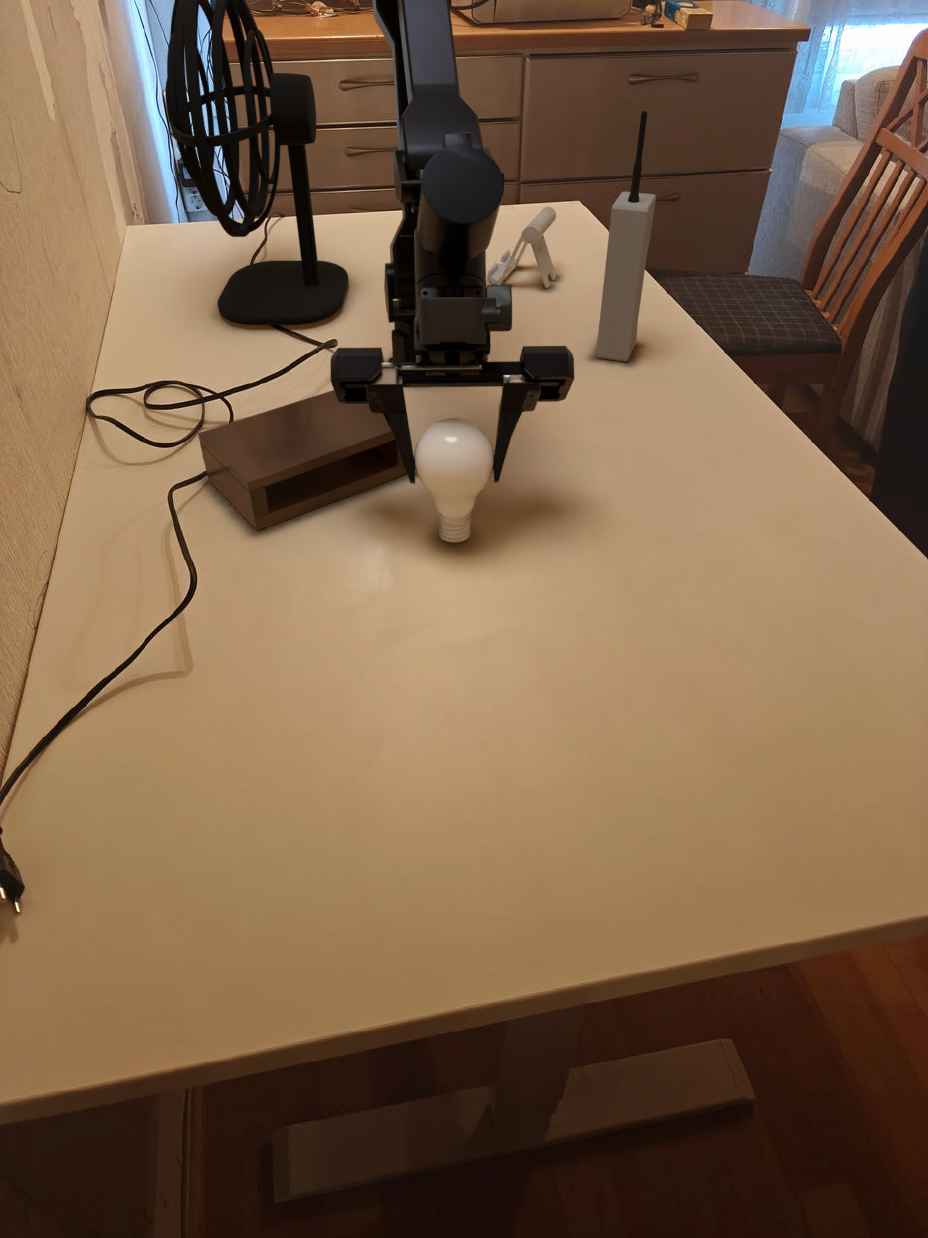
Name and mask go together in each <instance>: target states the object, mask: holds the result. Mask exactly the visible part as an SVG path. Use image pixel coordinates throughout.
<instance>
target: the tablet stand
mask: <svg viewBox="0 0 928 1238" xmlns="http://www.w3.org/2000/svg"><path fill="white" fill-rule="evenodd" d="M556 219H557V212H556V210H555V209H554V208H553V207H552V206H545V207H544V208H543V209H542V210H540V212H539V213H538V214H537V215H535V217H534V218H533V219H532V220H531V221H530V222H529V224H527V226H526V227H525V228H524V229H522V231H521V233H520V237H519V239H518V241H517V243H516V244H515V247H514V249H513V251H512V253H511V250H510V249H507V250H506V251H505V252H504V253H503V254H502V255H501V256H500V261H499V263H498V262H495V263H494V264H493V265H492V266H491V267H490V268H489V269H488V270H487V275H486V283H487V284H488V285H503V283H504V281H505V280H506V278H507V277H508V276H509V275H510V274H511V273H512V272H513V270H515V269H516V268H517V267H518V265H519V263H520V261H521V259H522V257H523V255H524V253H525V251H526V249H527V247H528V244H529V245H530V246H531V249H532V252H533V255H534V258H535V261H536V264H537V268H538V271H539V273H540V277H541V279H542V283H543V285H544V288H545V289H548V288H549V287H550V286H551V283H550V280H549V275H550V278H551V281H555V280H556V278H557V274H556V271H555V267H554V264H553V262H552V259H551V255H550V252H549V249H548V246H547V243H546V242H547V241H546V239H545V236H544V234H545V232H546V231H547V230H548V229H549V228H550V227H551V226H552V224H553V223H554V222H556ZM523 242H524V243H523ZM522 243H523V245H522ZM521 246H522V247H521ZM520 248H521V249H520ZM519 249H520V251H519ZM518 251H519V252H518ZM517 254H518V255H517ZM516 256H517V257H516Z"/></svg>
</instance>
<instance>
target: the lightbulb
mask: <svg viewBox="0 0 928 1238" xmlns="http://www.w3.org/2000/svg"><path fill="white" fill-rule="evenodd" d="M494 451H495V450H494V447H493V444H492V442H491V440H490V437H489V436H488V434H486V432H485V431H484V430H483V429H482V428H481V427H480V426H479V425H478V424H476V423H474V422H472V421H471V420H467V419H464V418H458V417H449V418H445V419H441V420H438V421H435V422H434V423H433V424H431V425H429V426H428V427H427V428H426V429H425V430H424V431H423V433H422V434H421V435H420V437H419V438H418V440H417V442H416V445H415V449H414V452H413V455H414V463H415V474H416V475H417V478H418V480H419V482H420V483H421V484H422V486H423V487H424V488H425V489H426V491H427V492H428V493H429V494H430V495H431V497H432V500H433V503H434V507H435V510H436V511H437V516H438V535H439V537H440V539H442V540H443V541H444V542H447V543H461V542H465V541H466V540H467V539H469V538H470V536H471V517H472V515H471V514H472V510H473V509H474V506H475V502H476V499H477V496H478V494H480V492H481V491H482V490H483V489H484V488H485V486H486V485H487V484H488V481H489V480H490V479H491V476H492V475H493V467H494Z"/></svg>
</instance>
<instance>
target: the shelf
mask: <svg viewBox="0 0 928 1238" xmlns="http://www.w3.org/2000/svg"><path fill="white" fill-rule="evenodd" d="M197 437H198V440H199V446H200V449H201V454H202V455H201V456H202V459H203V463H204V468H205V472H206V476H207V480H208V482H209V483H210V484H211V485H212V486H213V487H214V488H215V489H216V490H217V491H218V492H219V493H220V494H221V496H222V497H224V498H225V499H226V500H227V502H229V504H230V505H231V506H232V507H233V508H234V509H235V510H236V511H237V512H238V513H239V514H240V515H241V516H242V517H243V518H244V519H245V520H246V521H247V522H248V523H249V524H250V525H251V526H252V527H253V529H255V531H256V532H259V531H261V530H264V529H266V528H267V529H268V528H269V527H271V526H275V525H277V524H280V523H283V522H285V521H288V520H290V519H292V518H295V517H299V516H301V515H303V514H305V513H308V512H311V511H314V510H316V509H318V508H321V507H324V506H326V505H329V504H332V503H335V502H337V501H340V500H342V499H345V498H347V497H349V496H352V495H356V494H358V493H360V492H363V491H365V490H368V489H371V488H373V487H376V486H378V485H382V484H383V483H387V482H389V481H391V480H394V479H396V478H399V477H402V476H405V475H407V472H406V469H405V466H404V463H403V460H402V456H401V453H400V450H399V447H398V444H397V442H396V439H395V437H394V435H393V433H392V431H391V429H390V427H389V425H388V423H387V421H386V419H385V417H384V415H383V414H382V413H373V412H371V411H370V408H369V404H345V403H341V402H339V401H338V399H337V396H336V394H335V391H334V389H331V390H329V391H326V392H323V393H320V394H316V395H314V396H310V397H307V398H304V399H301V400H298V401H295V402H291V403H288V404H285V405H282V406H279V407H276V408H272V409H270V410H266V411H263V412H260V413H257V414H254V415H250V416H248V417H245V418H242V419H238V420H235V421H232V422H229V423H226V424H223V425H220V426H216V427H213V428H210V429H207V430H204V431H201V432H198V433H197Z"/></svg>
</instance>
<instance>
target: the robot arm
mask: <svg viewBox="0 0 928 1238" xmlns="http://www.w3.org/2000/svg"><path fill="white" fill-rule="evenodd" d="M451 9H452V0H372V12H373V19H374V22H375V23H376V25H377V27H378V28H379V30H380V32H381V34H382V35H383V37H384V38H385V40H386V43H387V44H388V46H389V47H390V49H391V53H392V54H391V55H392V67H393V68H392V69H393V84H394V99H395V100H394V103H395V116H396V117H395V118H396V132H397V149H393V152H392V163H393V164H392V165H393V167H392V168H393V183H394V192H395V193H394V194H395V198H396V200H397V201H398V202H399V204H401V211H402V218H401V221H400V223H399V225H398V227H397V229H396V232H395V233H394V236H393V237H392V240H391V242H390V245H389V258H390V259H389V261H390V262H386V263H385V262H384V286H383V287H384V303H385V310H386V314H387V315H386V316H387V320H388V323H389V324H392V323H393V326H394V328H393V329H392V330H391V333H390V334H391V349H392V350H391V351H392V357H389V358H388V362H385V358H384V354H383V349H382V347H338V348H336V350H335V351H334V353H333V354H332V355H331V356H330V383H331V385H332V386H331V387H332V390H334V391H335V394H336V396H337V399H338V401H339V402H341V403H345V404H369V408H370V411H371V412H373V413H382V414H383V415H384V417H385V419H386V421H387V423H388V425H389V427H390V429H391V431H392V433H393V435H394V437H395V439H396V442H397V444H398V447H399V450H400V453H401V456H402V460H403V463H404V466H405V469H406V472H407V474H406V475H407V478H408V482H409V483H410V484H411V485H413V484H414V485H415V484H416V470H415V463H414V450H413V444H412V437H411V436H412V435H411V430H410V424H409V423H410V422H409V416H408V409H407V405H406V404H407V403H406V398H405V391H404V388H407V389H409V388H481V387H482V388H486V387H487V388H493V387H494V388H495V387H496V388H497V387H500V388H501V394H500V395H501V396H500V400H499V404H498V415H497V422H496V423H497V424H496V433H495V444H494V450H493V451H494V467H493V471H492V475H493V476H492V477H493V483H495V484H496V483H499V482H500V478H501V475H502V471H503V468H504V464H505V461H506V457H507V453H508V449H509V446H510V443H511V440H512V438H513V434H514V432H515V429H516V428H517V425H518V423H519V421H520V419H521V416H522V414H523V413H526V412H529V413H530V412H534V411H535V409H536V407H537V404H538V403H544V402H546V403H549V402H550V403H551V402H554V403H555V402H562V401H565V400H566V399H567V396H568V394H569V392H570V389H571V388H572V385H573V383H574V381H575V357H574V354H573V352H571V350H570V349H569V348H568V347H567V345H523V346H522V348H521V352H520V356H519V360H518V361H517V360H516V361H515V360H514V361H513V360H512V361H510V360H509V361H506V360H505V361H504V360H503V361H502V360H501V361H489V357H488V356H489V355H491V346H492V345H491V332H510V331H511V330H512V329H513V287H512V286H513V285H512V284H501V285H489V284H488V285H487V258H486V257H487V255H486V254H487V253H486V252H487V249H488V248H489V246H490V244H491V240H492V237H493V235H494V234H493V233H494V230H495V226H496V222H497V218H498V214H499V211H500V208H501V204H502V200H503V196H504V193H505V172H503V170H502V169H501V168H500V166H499V164H497V162H496V159H494V157H493V155H492V152H491V149H490V147H489V146H484V143H483V138H482V137H483V136H482V132H481V125H480V120H479V115H478V114H477V113H476V111H475V110H473V108H472V107H471V106H470V105H469V104H468V102H466V100H464V98H462V96H461V90H460V83H459V75H458V67H457V57H456V49H455V41H454V40H455V39H454V32H453V23H452V16H451Z"/></svg>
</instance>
